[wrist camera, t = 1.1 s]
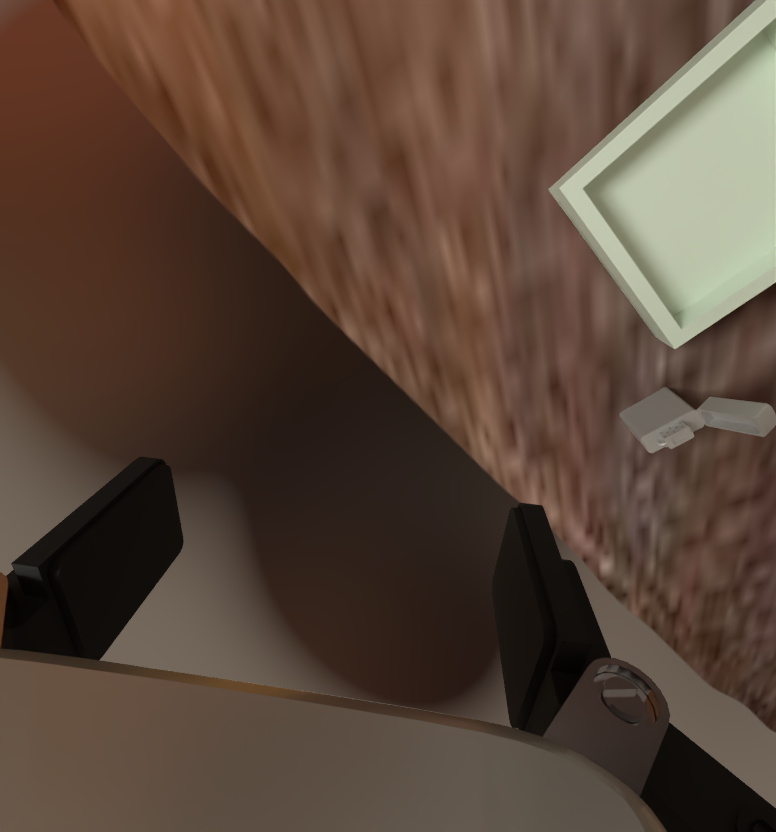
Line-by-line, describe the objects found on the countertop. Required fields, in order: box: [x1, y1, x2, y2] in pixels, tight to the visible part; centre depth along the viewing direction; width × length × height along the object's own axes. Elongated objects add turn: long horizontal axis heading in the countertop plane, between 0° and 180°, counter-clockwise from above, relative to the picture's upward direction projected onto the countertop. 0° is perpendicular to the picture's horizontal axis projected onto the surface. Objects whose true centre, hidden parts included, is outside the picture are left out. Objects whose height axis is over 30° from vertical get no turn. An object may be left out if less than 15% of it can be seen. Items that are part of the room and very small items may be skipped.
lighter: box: [619, 387, 776, 453], centre depth 31 cm, size 7×2×8 cm, turn 130°
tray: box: [548, 0, 776, 349], centre depth 27 cm, size 14×14×3 cm
